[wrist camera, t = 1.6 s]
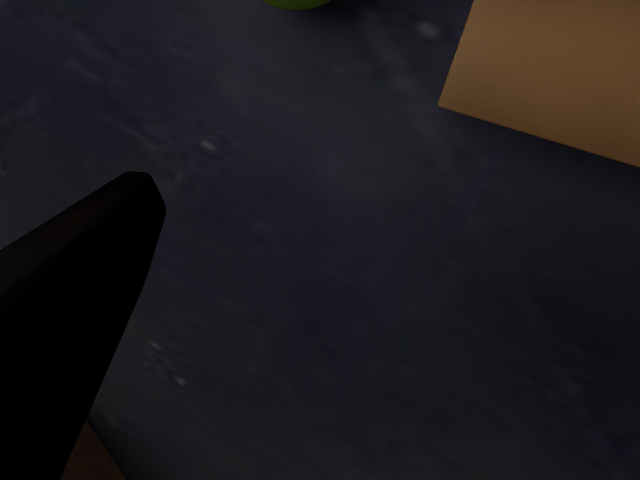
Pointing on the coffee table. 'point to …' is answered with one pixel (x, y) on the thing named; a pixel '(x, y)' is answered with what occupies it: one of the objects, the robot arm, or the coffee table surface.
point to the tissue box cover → (90, 459)
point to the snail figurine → (296, 4)
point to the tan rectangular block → (553, 72)
